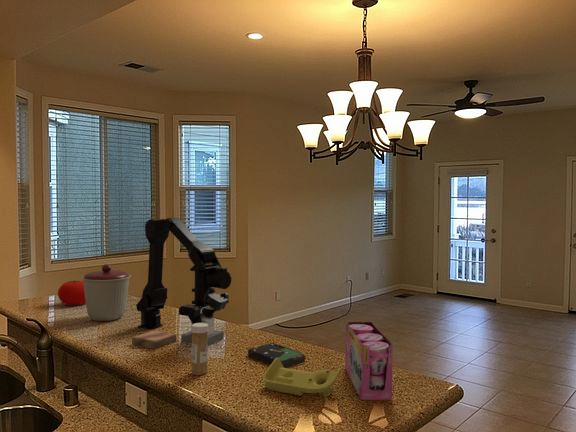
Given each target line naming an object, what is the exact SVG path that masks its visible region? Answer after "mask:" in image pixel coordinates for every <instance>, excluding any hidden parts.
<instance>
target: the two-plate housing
mask: <svg viewBox="0 0 576 432" xmlns="http://www.w3.org/2000/svg"><path fill="white" fill-rule="evenodd" d="M190 323H191V324H190V325H191V326H192V322H191V321H190ZM201 323H206V324H208V333H207V336H208V335H210V334H212V333H214V330H215V317H213V318H211V317H204V316H203V317H202V319H201ZM191 326H190V327H191ZM191 334H192V332H191Z"/></svg>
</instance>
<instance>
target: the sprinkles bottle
mask: <svg viewBox="0 0 576 432" xmlns="http://www.w3.org/2000/svg"><path fill="white" fill-rule="evenodd" d="M190 327H191V328H190V331H191V332H192V344H191V371H190V372H191V374H193V375H194V376H202V375H206V374H207V373H208V371H209V369H208V358H209V357H208V356H209V354H208V352H209V350H208V347H209V346H208V344H207V333H208V324H206V323H195V324H192V326H190Z"/></svg>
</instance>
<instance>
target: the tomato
mask: <svg viewBox="0 0 576 432" xmlns="http://www.w3.org/2000/svg"><path fill="white" fill-rule="evenodd" d="M57 296H58V299H59V300H60V301H61V302H62V304H65V305H67V306H75V305H76V306H78V305H83V304H86V300H85V291H84V282H83V280H72V281H71V280H69V281H66V282H64V283H63V284H62V285H60V286H59V288H58V290H57Z"/></svg>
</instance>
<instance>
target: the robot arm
mask: <svg viewBox="0 0 576 432" xmlns="http://www.w3.org/2000/svg"><path fill="white" fill-rule="evenodd" d="M144 224H145V226H144V229H145V231H144V232H145V237H146V239H147V241H148V243H149V249H148V267H147V268H148V270H147V271H148V272H147V283H146V285H145V287H144V288H143V290H142V295H141V298H140V299H139V301H138V302H137V303H136V305H135V307H136V311H137V312H140V324H139V325H137V328H143V329H147V330H153V329H156V328H159V327H162V326H163V325H164V324H163V323H161V318H162V317H161V310H163V309H165V304H166V302H167V299H168V288H167V287H165V285H164V284H163V269H164V265H163V264H164V252H165V251H164V247H165V243H166V241H167V239H168V237H169V234H170V232H171V234H172V235H173V236H174V237H175V238H176V239H177V241H179V243H181V245H182V246H183V247H184V249H186V250H187V256H188V258H189V259H190V261H191V262H192V264H193V266H192V267H190V269H189V271H190V272H194V287H192V288H191V293H194V300H191V304H189V303H187V304H183V305H181V306H180V307H179V308H178V315H179V316H185V317H188V319H189V321H190V323H191V322H192V324H195V323H201V319H202V317H203V316H204V317H211V318H214V315H215V314H216V313H217V312H220V311H221V310H225V308H226V305H227V304H229V303H230V302H229V300H230V299H229V294H228V293H227V292H222V293H221V294H220V293H216V289H221V290H226V289H228V288H229V287H230V285H231V284H232V277H231V274H230V273H229V272H228V268H227V267H222V265H221V262H220V260H219V258H218V257H217V255H216V251H215V249H214V248H212V247H211V246H210V245H208V244H207V243H205V242H202V241H200V240H199V239H198V238H197V237H196V236H195V235H194V234H193V233H192V232H191V231H190V230H189V228H188V227H187V226H185V225H184V223H183V222H182V219H180V218H178V217H167V218H155V219H153V218H152V219H148V220H147V221H146V222H145V223H144Z"/></svg>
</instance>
